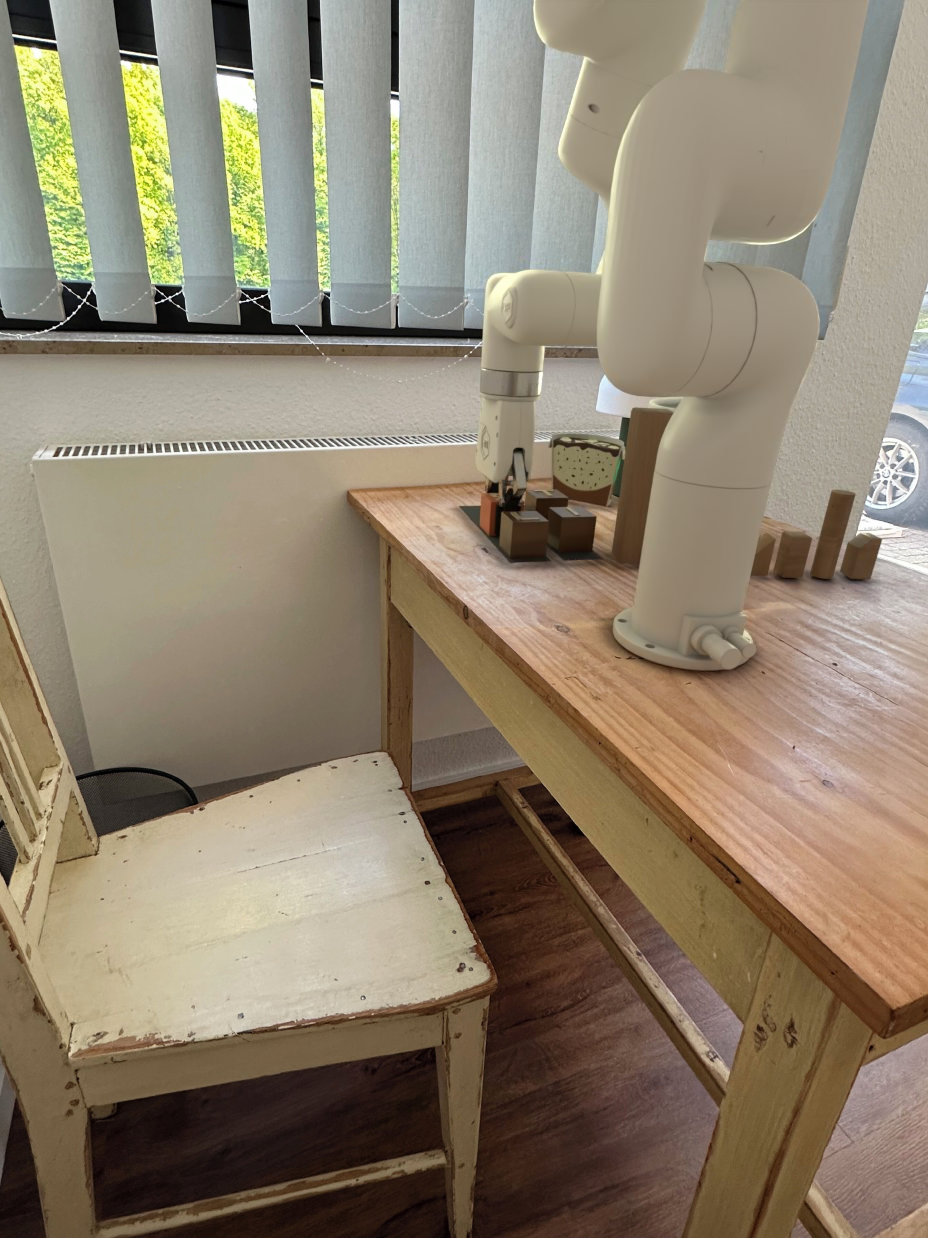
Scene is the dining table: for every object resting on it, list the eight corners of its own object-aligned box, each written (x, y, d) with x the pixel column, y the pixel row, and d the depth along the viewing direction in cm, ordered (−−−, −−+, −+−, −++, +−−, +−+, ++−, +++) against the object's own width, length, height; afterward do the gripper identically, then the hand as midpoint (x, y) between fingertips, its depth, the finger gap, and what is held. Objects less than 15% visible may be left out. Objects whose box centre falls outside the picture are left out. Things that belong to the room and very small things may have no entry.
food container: (630, 504, 114) (639, 440, 110) (615, 512, 109) (625, 445, 105) (559, 491, 119) (565, 429, 115) (543, 497, 115) (549, 434, 111)
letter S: (521, 535, 94) (524, 500, 92) (488, 536, 93) (491, 501, 91) (511, 525, 98) (513, 491, 96) (479, 525, 96) (481, 492, 95)
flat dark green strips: (603, 563, 87) (604, 558, 86) (509, 567, 84) (510, 562, 83) (534, 508, 109) (534, 504, 108) (458, 509, 106) (458, 505, 105)
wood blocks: (858, 574, 88) (882, 490, 83) (870, 581, 85) (895, 496, 81) (659, 570, 85) (674, 484, 81) (667, 578, 83) (682, 489, 79)
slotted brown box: (592, 551, 89) (596, 515, 87) (558, 552, 88) (562, 516, 86) (578, 540, 93) (582, 505, 91) (545, 541, 92) (549, 506, 90)
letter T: (565, 530, 97) (569, 496, 95) (533, 531, 96) (536, 497, 94) (553, 520, 101) (556, 488, 99) (522, 521, 99) (525, 488, 98)
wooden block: (682, 558, 90) (708, 410, 82) (692, 571, 86) (721, 416, 78) (610, 555, 90) (630, 406, 82) (617, 567, 86) (639, 412, 78)
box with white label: (545, 557, 86) (549, 520, 84) (509, 559, 85) (512, 521, 83) (533, 545, 90) (536, 509, 88) (498, 546, 89) (501, 510, 87)
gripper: (463, 377, 94) (457, 512, 102) (501, 393, 79) (491, 550, 87) (518, 378, 96) (508, 511, 103) (565, 394, 81) (549, 548, 88)
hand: (500, 527), depth 95 cm, fingers closed on letter S, 4 cm apart
